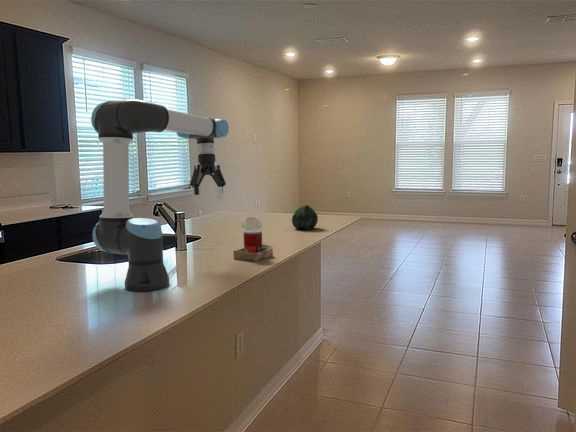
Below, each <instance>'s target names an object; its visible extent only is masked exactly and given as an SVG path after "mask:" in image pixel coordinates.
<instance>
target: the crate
mask: <svg viewBox="0 0 576 432" xmlns="http://www.w3.org/2000/svg"><path fill="white" fill-rule="evenodd" d="M232 252H233V260H239V261H240V260H241V261H249V262H255V263H256V262H259V260H260V261H262V259H263V260H265V258H266V259H268V257H269V258H272V257H274V256H273V255H274V254H273V253H274V250H273V248H271V247H265V246H264V247H263V246H262V251H260V252H257V253H251V252H244V247H243V248H239V249H235V250H232ZM271 256H272V257H271Z"/></svg>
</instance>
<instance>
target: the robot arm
mask: <svg viewBox="0 0 576 432" xmlns="http://www.w3.org/2000/svg"><path fill="white" fill-rule="evenodd" d="M90 122H91V127H92V128H93V129H94V131H95V132H96V133H97V135H98V140H99V141H100V142H101V143H102V161H103V162H102V165H103V168H102V169H103V212H102V213H101V214H100V215H99V218H98V219H99V221H98V222H97V223H95V226H94V227H93V229H92V240H93V243H94V245H95V246H96V247H97V249H98V250H100V251H102V252H105V253H108V254H117V255H126V256H127V257H128V259H127V260H128V268H127V272H126V275H125V279H124V289H125V290H127V291H129V292H136V293H137V292H152V291H157V290H161V289H165V288H167V287H169V286H170V277H169V274H168V272H167V268H166V266H165V263H164V246H163V245H164V244H163V231H162V225H161V223H160V222H159V221H158V220H156V219H153V218H146V217H144V218H143V217H136V218H135V217H134V215H133V214H132V213H131V212H130V177H129V176H130V173H129V172H130V171H129V169H130V167H129V166H130V162H129V161H130V155H129V154H130V153H129V152H130V151H129V145H130V144H131V143H132V142H133V141H134V134H140V133H149V132H150V133H163V132H164V131H167V132H173V133H176V134H177V136H178V137H179V138H182V139H185V140H186V139H190V140H196V146H197V154H198V155H197V160H198V161H197V162H198V163H197V164H194V166H193V173H192V177H191V179H190V183H189V186H190V187H191V188H193V190H194V191H193V192H194V196H195V203H196V204H197V203H199V204H200V203H203V201H202V187H200V186H201V183H202V182H203V180H204V178H205V176H209V177H211V179H212V180H213V182H214V183H215V184H216V188H215V189H216V198H217V199H216V200H217V202H224V196H223V195H224V190H223V187H225V185H227V183H226V181H225V178H224V176H223V174H222V170H221V165H220V164H215V162H216V154H215V152H216V151H215V139H216V138H217V139H221V138H225V137H227V136H228V134H229V129H230V127H229V124H228V122H227V120H226V119H224V118H210V117H206V116H201V115H196V114H191V113H186V112H181V111H176V110H172V109H168V108H167V107H166V106H164V105H162V104H157V103H154V102H150V101H146V100H141V99H135V98H134V99H133V98H129V99H128V98H127V99H117V100H116V99H115V100H107V101H103V102H100V103H99V104H97V105H96V106H95V107H94V108H93V110H92V113H91V117H90Z"/></svg>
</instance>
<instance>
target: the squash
mask: <svg viewBox="0 0 576 432" xmlns="http://www.w3.org/2000/svg"><path fill="white" fill-rule="evenodd" d="M318 217H319V216H318V214H317V212H315V210H314V209H313V208H312V207H311V206H310V205H308V204H306V205H303V206H301V207H299V208H297V209H296V210H295V211H294V212H293V215H292V217H291V224H292V227H294V228H295V229H297V228H301V229H305V230H306V229H308V230H312V229H314V228H315V227H316V225H317V224H318V220H319V219H318ZM309 228H310V229H309Z"/></svg>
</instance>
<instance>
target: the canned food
mask: <svg viewBox="0 0 576 432" xmlns="http://www.w3.org/2000/svg"><path fill="white" fill-rule="evenodd" d="M262 247H263V233H262V230H261V229H258V230H245V229H244V230H243V248H244V252H251V253H257V252H260V251H262Z"/></svg>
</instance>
